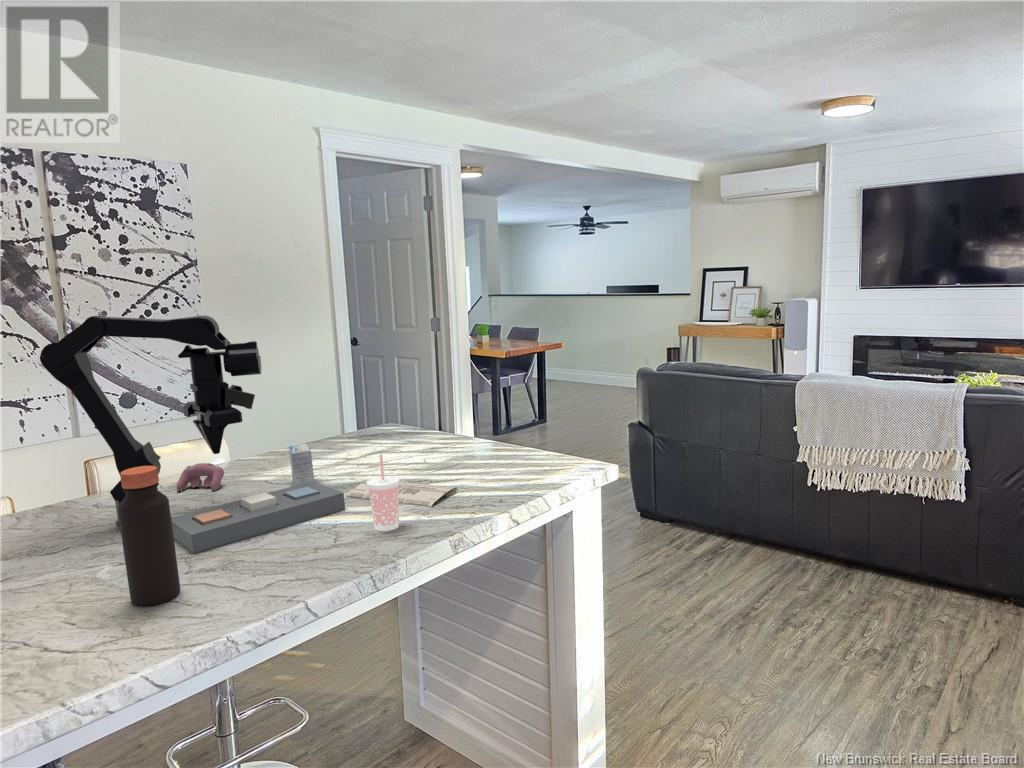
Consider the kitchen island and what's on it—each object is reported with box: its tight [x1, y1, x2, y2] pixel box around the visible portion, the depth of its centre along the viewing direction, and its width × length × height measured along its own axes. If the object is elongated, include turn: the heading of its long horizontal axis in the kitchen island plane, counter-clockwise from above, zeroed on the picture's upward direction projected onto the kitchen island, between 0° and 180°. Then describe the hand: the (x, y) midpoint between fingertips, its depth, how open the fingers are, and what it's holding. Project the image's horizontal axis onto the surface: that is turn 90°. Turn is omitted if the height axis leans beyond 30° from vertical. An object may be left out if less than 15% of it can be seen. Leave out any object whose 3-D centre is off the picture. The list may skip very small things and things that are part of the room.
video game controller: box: [176, 462, 225, 492], centre depth 162 cm, size 10×5×7 cm, turn 85°
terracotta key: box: [194, 509, 231, 525], centre depth 130 cm, size 5×5×3 cm
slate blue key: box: [285, 487, 319, 500], centre depth 142 cm, size 5×5×3 cm
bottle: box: [118, 466, 181, 607], centre depth 104 cm, size 7×7×20 cm
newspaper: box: [345, 477, 458, 508], centre depth 151 cm, size 23×12×2 cm, turn 65°
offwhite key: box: [240, 491, 277, 512], centre depth 136 cm, size 5×5×3 cm
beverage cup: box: [366, 454, 400, 532], centre depth 130 cm, size 6×6×14 cm
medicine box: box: [288, 443, 315, 486], centre depth 161 cm, size 8×4×9 cm, turn 22°
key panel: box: [171, 480, 346, 555], centre depth 137 cm, size 30×13×4 cm, turn 133°
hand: (216, 453), depth 142 cm, fingers closed
